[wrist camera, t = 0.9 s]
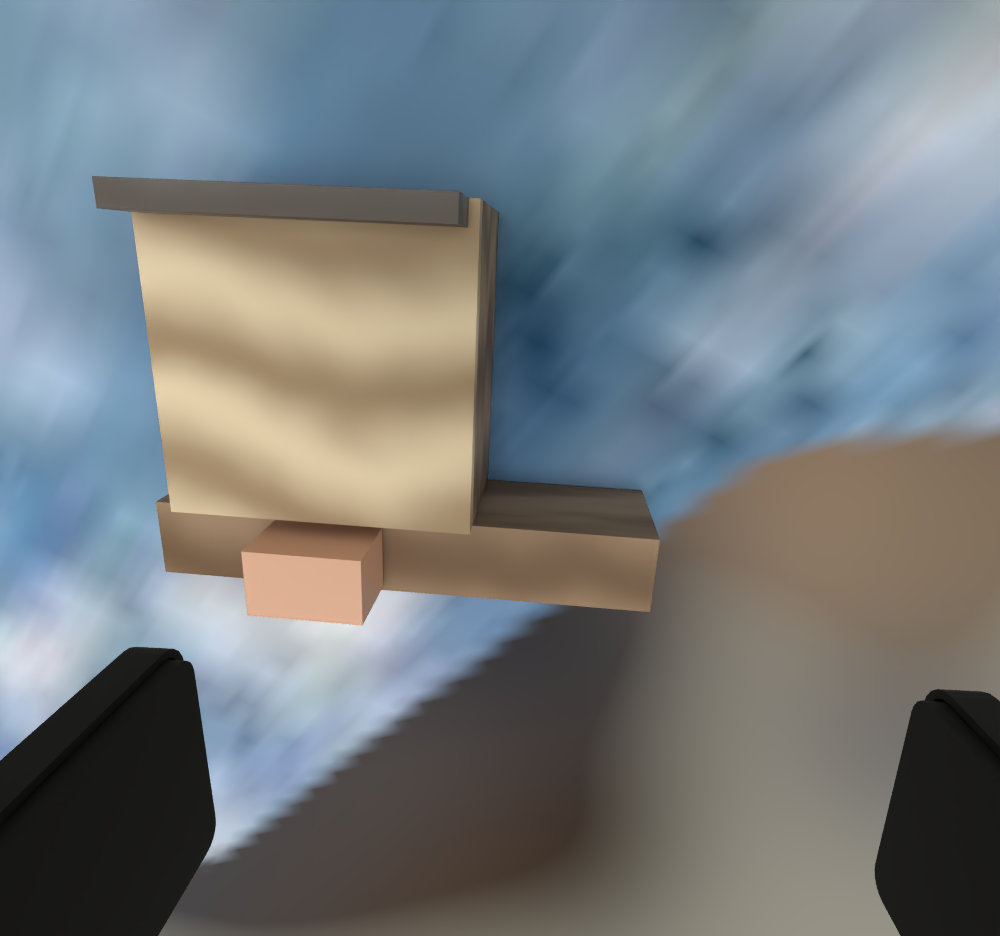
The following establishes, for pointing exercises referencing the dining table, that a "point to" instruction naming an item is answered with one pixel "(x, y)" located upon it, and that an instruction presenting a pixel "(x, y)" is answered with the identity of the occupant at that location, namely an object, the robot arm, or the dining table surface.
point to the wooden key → (313, 572)
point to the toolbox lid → (311, 347)
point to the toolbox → (479, 524)
